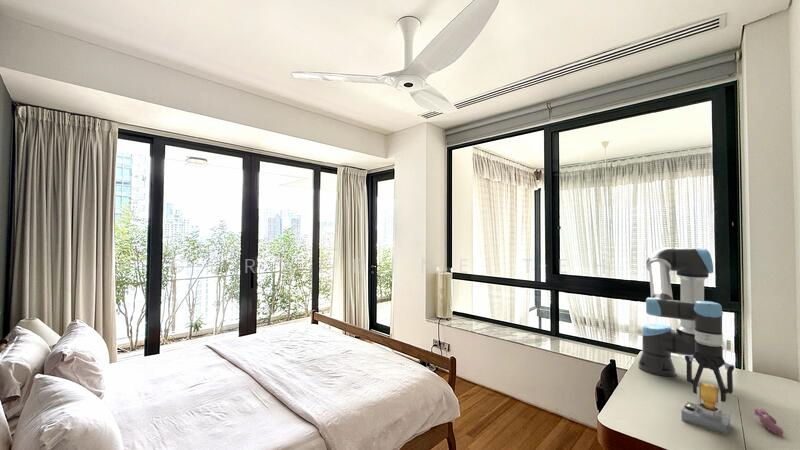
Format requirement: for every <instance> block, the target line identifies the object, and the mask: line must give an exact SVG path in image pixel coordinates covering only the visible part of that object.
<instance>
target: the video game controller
mask: <svg viewBox="0 0 800 450" xmlns="http://www.w3.org/2000/svg"><path fill="white" fill-rule="evenodd" d="M753 410H754V412H753V414H754V415H755V416H757V417H758V419H759V420H760V422H761V423H762V427H765V429H766V430H770V431H771V432H772V433H775V434H776V435H778V434H780V435H779V436H783V435H784V430H782V428H781V427H779V426H778V425H777V420H776V419H775V418H774V417H773V416H771V415H770V414H769V412H768V411H766V410H765V409H763V408H762V407H761V408H759V407H756V408H754V409H753Z"/></svg>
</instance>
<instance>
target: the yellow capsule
mask: <svg viewBox="0 0 800 450" xmlns="http://www.w3.org/2000/svg"><path fill="white" fill-rule="evenodd" d="M699 385H700V398H701V400H703V403H704V407H705V408H707V409H711V410H715V406H716V404H718V391H719V386H717V385H714V384H711V383H707V382H700V383H699Z"/></svg>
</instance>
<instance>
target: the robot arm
mask: <svg viewBox="0 0 800 450" xmlns="http://www.w3.org/2000/svg"><path fill="white" fill-rule="evenodd" d="M645 265H646V269H647V271H648V274H649V287H650V297H647V298H645V312H646V314H647V315H649V316H654V317H655V316H656V317H660V318H669V319H677V320H680V321H679V322H680V324H678V325H676V329H672V328H671V326H669V325H665V324H657V323H654V324H653V323H651V324H650V323H649V324H645V325H643V327H642V332H641V335H642V349H641V351H642V353H641V355H640V358H639V360H638V368H639V369H640V370H642V371H644V372H647V373H648V374H652V375H657V376H662V377H675V376H676V373H677V372H676V368H675V365H674V363H673V360H672V354H675V355H681V356H684V358H685V361H686V382H688V383H690V384H692V392H693V394H696V404H699V405H700V403H702V399H701V398H700V384H699V382H700V379H701V376H702V374H703V371H704V369H709V370H711V371H713V373H714V377H715V379H716V382H717V387H718V403H717V407H718V410H719V411H721V410H722V411H723V408H722V407H723V405H722V404H723V403H725V402H726V401H727V394H733V392H734V383H733V380H734V379H733V378H734V377H733V372H734V370H735V365H734V364H730V363H728V362H726V360H724V354H723V353H724V351H723V349H724V348H723V314H724V313H723V307H722V304H720V303H718V302H714V301H709V300H705V280H706V279H708V278H709V277H710V276H709V275H710V274H713V273H714V263H713V259H712V255H711V253H710V251H709V250H708V249H706V248H697V247H663V248H660V249H657V250H655V251H653V252H652V253H651V254H650V255H649V256H648V258H647V259H646V263H645ZM671 271H672V272H673V271H674V272H676V275H677V276H678V277H679V279H680V300H678V299H677V300H675V299H674V298H673V297H674V296H673V291H672V290H673V289H672V283H671V276H670V275H671V274H670V272H671ZM694 360H695V361H696V362H697V364H698V368H697V371H696V374H695V376H694V378H693V361H694ZM722 366H724V368H725V370H726V384H727V385H726V386H725V384H724V379H723V377H722V374H721V372H720V371H721V370H720V368H722Z"/></svg>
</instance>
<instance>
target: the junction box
mask: <svg viewBox="0 0 800 450" xmlns="http://www.w3.org/2000/svg"><path fill="white" fill-rule="evenodd" d="M681 421H684V422H687V423H689V424H692V425H694V426H697V427H700V428H704V429H706V430H708V431H709V430H710V431H712V432H715V433H718V434H720V435H722V436H728V432H729V430H730V427H731V414H728V413H725V412H723V409H722V410H721V411H719V410H718V406H717V405H715V410H711V409H707V408H705V407H704V402H701V403H700V405H699V404H697V403H693V402H690V401H686V403H685V404H684V406H683V407H682V409H681Z"/></svg>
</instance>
